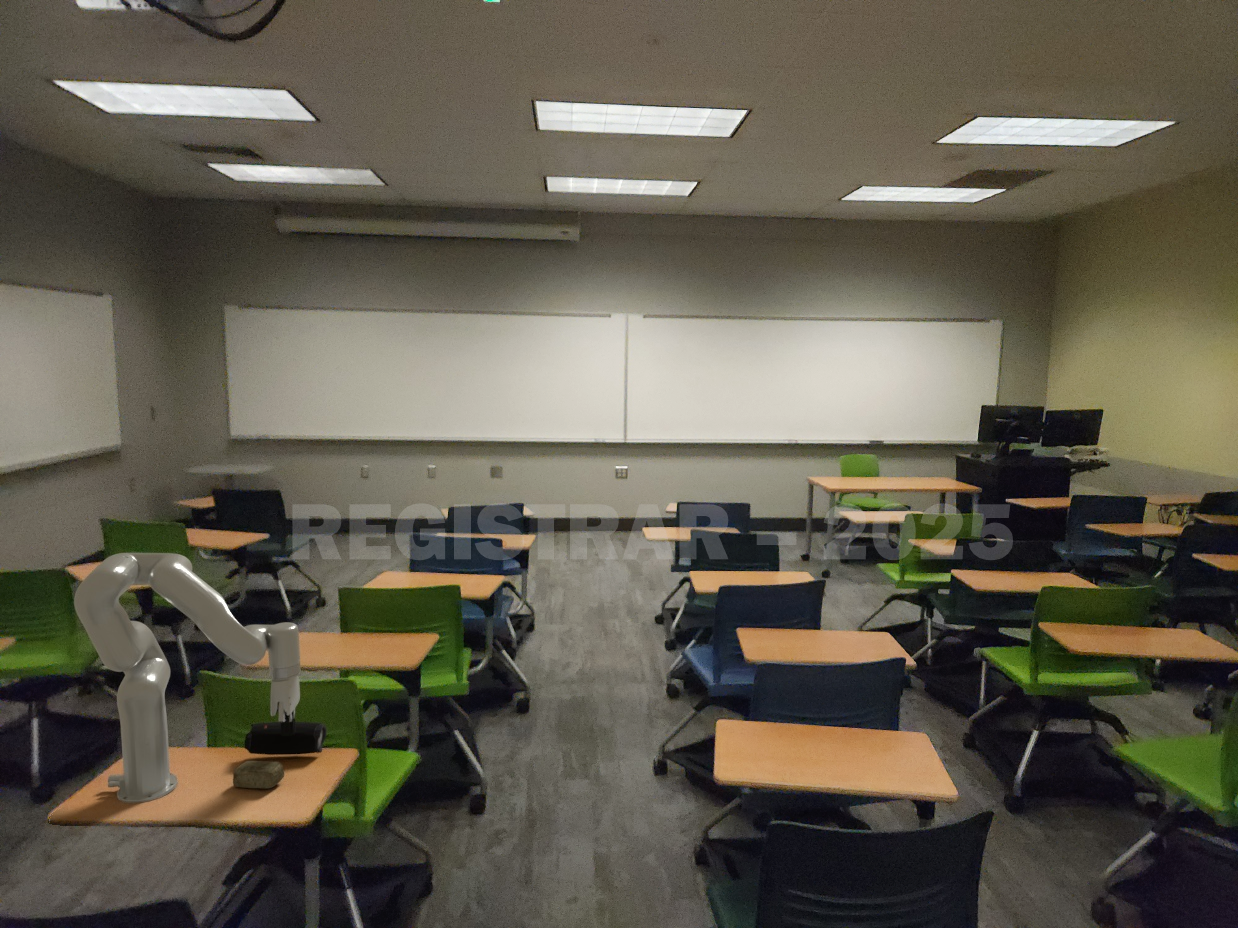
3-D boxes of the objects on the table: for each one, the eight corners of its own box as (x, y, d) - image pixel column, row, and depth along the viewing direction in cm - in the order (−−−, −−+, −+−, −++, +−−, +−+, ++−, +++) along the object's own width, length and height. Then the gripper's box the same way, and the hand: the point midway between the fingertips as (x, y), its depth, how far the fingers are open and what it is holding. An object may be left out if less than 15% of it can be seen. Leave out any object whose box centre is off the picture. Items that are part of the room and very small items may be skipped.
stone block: (273, 790, 176) (270, 772, 175) (231, 789, 178) (229, 771, 177) (286, 777, 182) (284, 759, 181) (246, 776, 183) (243, 758, 183)
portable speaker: (243, 730, 189) (318, 729, 192) (256, 716, 198) (327, 716, 201) (242, 761, 189) (317, 760, 192) (255, 745, 199) (326, 744, 201)
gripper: (279, 659, 192) (282, 721, 195) (260, 682, 178) (264, 749, 180) (307, 657, 193) (311, 719, 196) (291, 680, 179) (294, 747, 181)
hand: (288, 734), depth 188 cm, fingers closed
